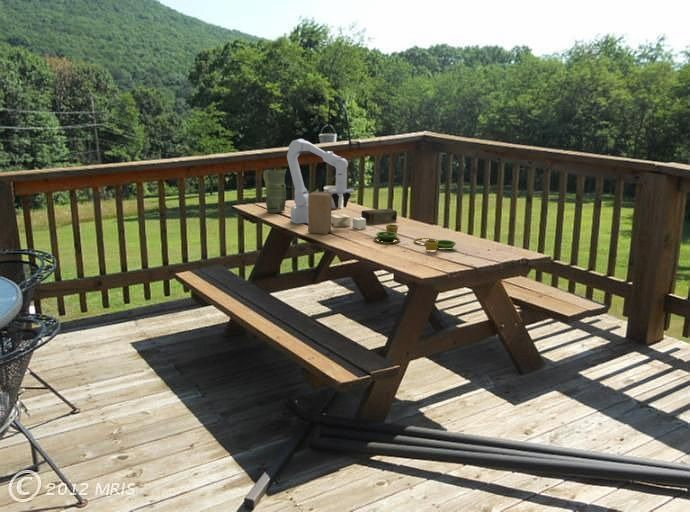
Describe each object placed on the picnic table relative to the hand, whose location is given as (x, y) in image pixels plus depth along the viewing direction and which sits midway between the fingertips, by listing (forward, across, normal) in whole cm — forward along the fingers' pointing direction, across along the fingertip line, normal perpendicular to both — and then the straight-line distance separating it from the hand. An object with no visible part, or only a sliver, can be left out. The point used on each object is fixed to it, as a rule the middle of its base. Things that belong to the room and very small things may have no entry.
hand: (340, 207), depth 353 cm
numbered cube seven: (+10, +6, -10) cm, 15 cm away
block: (+10, -18, -12) cm, 23 cm away
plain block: (+10, 0, 0) cm, 10 cm away
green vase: (+10, -19, +46) cm, 51 cm away
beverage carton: (+10, +24, 0) cm, 26 cm away
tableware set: (+10, +12, -50) cm, 52 cm away
